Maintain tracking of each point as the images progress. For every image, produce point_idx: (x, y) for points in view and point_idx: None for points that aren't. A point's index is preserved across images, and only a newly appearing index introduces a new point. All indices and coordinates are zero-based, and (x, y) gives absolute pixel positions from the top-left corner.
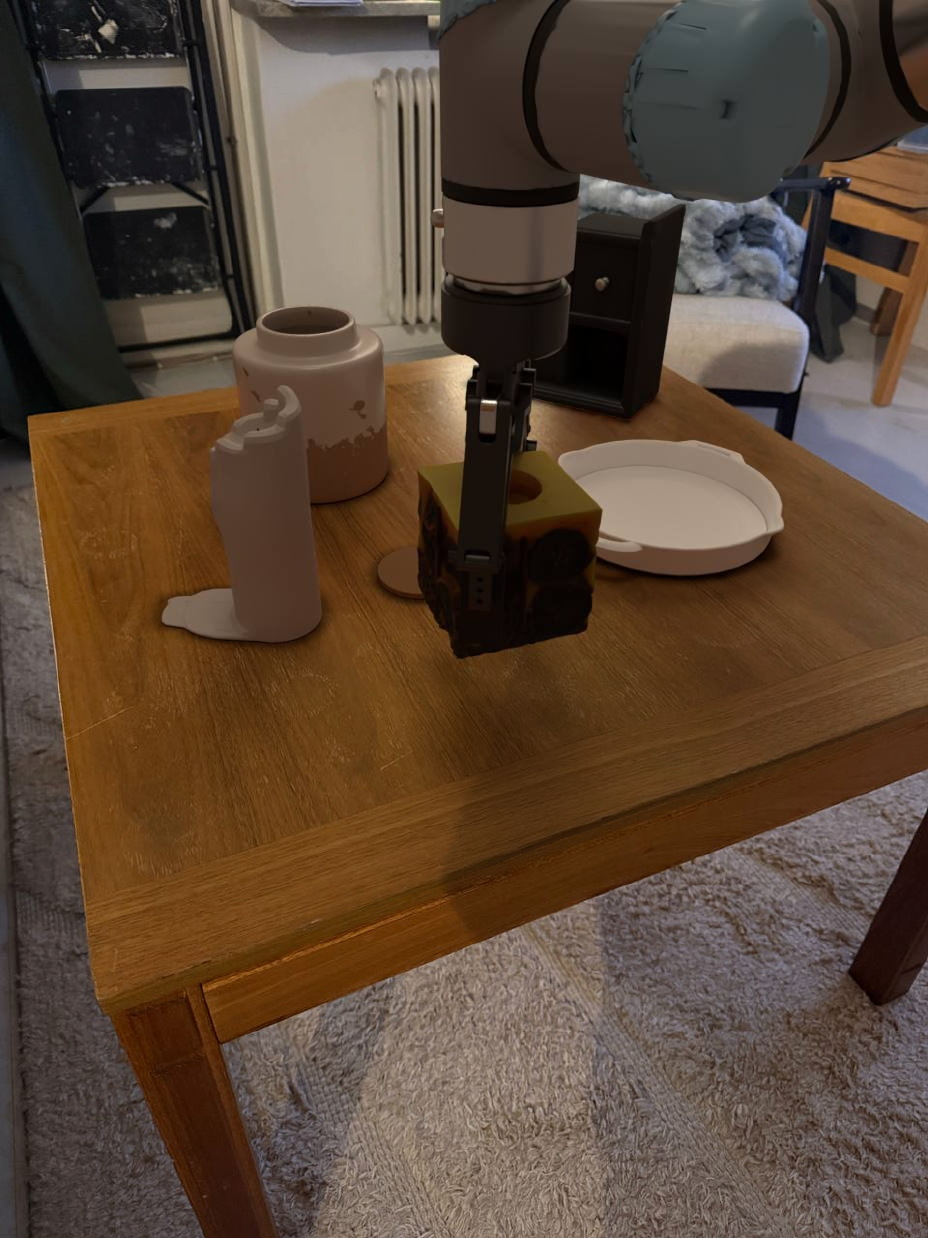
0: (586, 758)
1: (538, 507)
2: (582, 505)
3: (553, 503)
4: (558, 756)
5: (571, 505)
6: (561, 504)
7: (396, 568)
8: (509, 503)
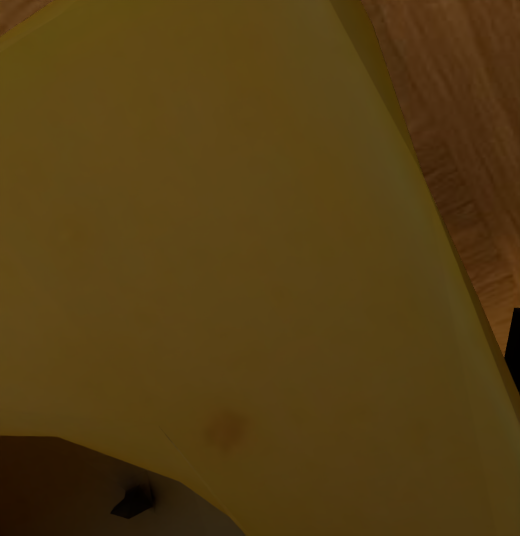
0: (449, 40)
1: (339, 474)
2: (258, 102)
3: (247, 365)
4: (446, 97)
5: (272, 215)
6: (254, 301)
7: None
8: (48, 484)
